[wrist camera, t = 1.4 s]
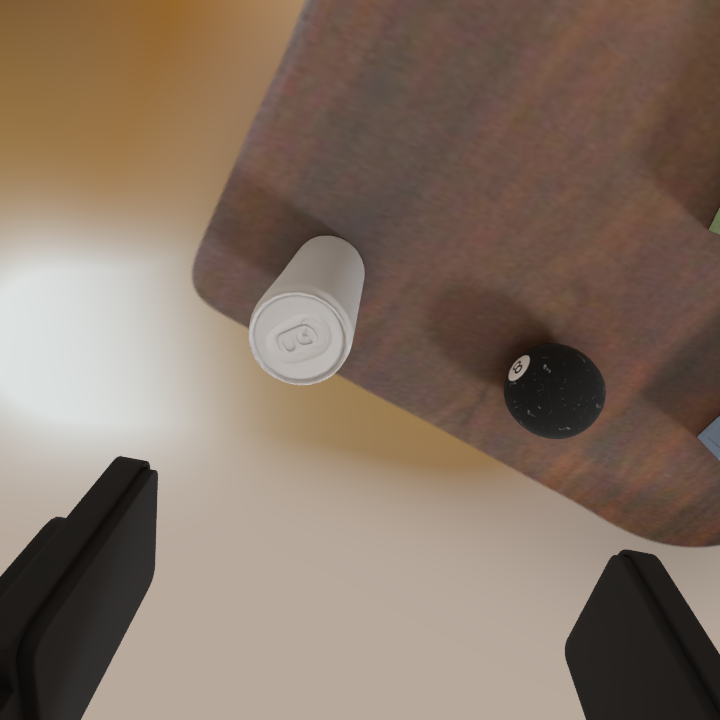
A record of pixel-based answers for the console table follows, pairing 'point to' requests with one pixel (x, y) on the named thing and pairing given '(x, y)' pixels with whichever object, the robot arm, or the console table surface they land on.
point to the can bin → (712, 437)
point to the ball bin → (716, 223)
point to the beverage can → (309, 313)
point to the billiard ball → (554, 391)
